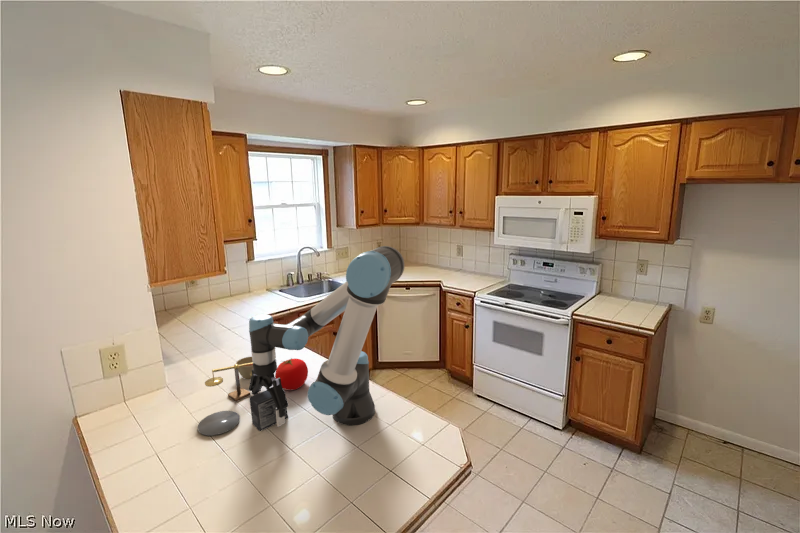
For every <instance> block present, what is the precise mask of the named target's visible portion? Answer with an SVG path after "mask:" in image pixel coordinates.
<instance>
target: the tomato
mask: <svg viewBox="0 0 800 533" xmlns="http://www.w3.org/2000/svg"><path fill="white" fill-rule="evenodd" d="M274 376H275V378H276V379H278V378H280V379H281V384H282V387H283V390H288V391H295V390H297V389H298V390H299V389H300V388H301V387H302V386H304V385H305V383H306V381H307V378H308V376H309V368H308V365H307V363H306V362H305V360H303V359H300V358H292V357H290V359H286V360H282V361H281V363H279V364H278V365H277V370H276V371H275V373H274Z"/></svg>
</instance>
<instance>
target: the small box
mask: <svg viewBox="0 0 800 533" xmlns="http://www.w3.org/2000/svg"><path fill="white" fill-rule="evenodd" d="M260 392H261V393H259V392H258V394H256V395H253V394H252V395H250V396H248V397H249V405H250V413H251V414H250V416H251V422H252V425H253V426H254V427H255V428H256V429H257V430H258V431H259V432H261V431H263V430H266V429H268V428H270V427H272V426H274V425H277V421H276V410H275V409H276V408H277V407H276V405H275V403H274V400H273V398H272V396H271V394H270V392H269V391H267V389H266V390H263V391H260ZM284 393H285V394H286V391H285V390H284ZM284 411H285V420H287V419H289V416H288V407H286V408H284Z"/></svg>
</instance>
